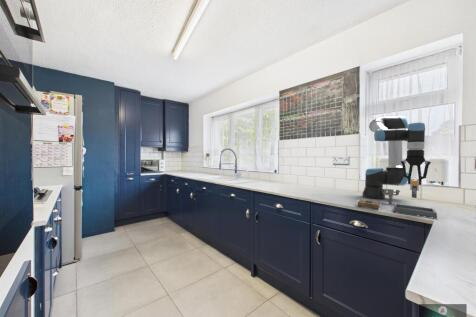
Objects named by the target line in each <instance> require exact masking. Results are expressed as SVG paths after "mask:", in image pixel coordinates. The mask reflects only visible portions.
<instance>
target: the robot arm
mask: <svg viewBox="0 0 476 317" xmlns="http://www.w3.org/2000/svg"><path fill="white" fill-rule="evenodd" d="M368 129H369V130H370V131H371V132H372V133H373V138H374V141H376V142H388V145H387V146H388V147H387V148H388V152H387V153H388V165H387V166H386V168H385V169H384V167H374V168H372V167H371V168H366V170H365V175H364V177H365V186H364V188H363V191H362V194H361V195H362V197H363V198H368V199H375V200H385V199H386V195H385V194H383V192H382V189H384V188H383V187H384V185H385V186H397V187H398V186H406V185H407V184H408V185H409V190H410V191H412V180H413V178H412V173H413V167H414V166H416V168H417V169H416V170H417V177H418V178H416V180H417V192H419V191H420V190H419V189H420V186H422V184H423V183H422V180H424V179H426V178H427V175H428V170H429V166H430V164H431V163H432V162H431V161H429V160H426V159H425V136H426V134H425V133H426V123H424V122H411V123H410V122H409V123H408V120H407V117H406V116H402V115H397V116H396V115H395V116H380V117H377V118H374V119H373V120H371V121H370V123H369V125H368ZM403 142H406V149H407V150H406V158H405V159H403ZM407 163H408V165H409V169H408V170H407V169H406V164H407ZM423 163H424V170H423V174H422V170H421V168H422V167H421V166H422V164H423Z"/></svg>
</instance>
